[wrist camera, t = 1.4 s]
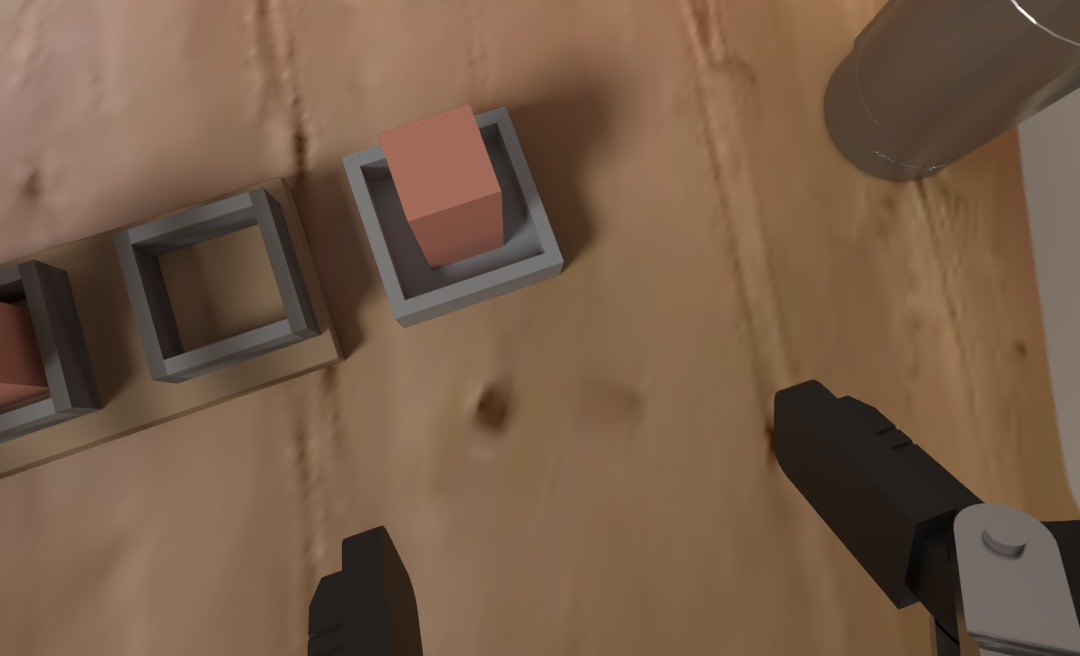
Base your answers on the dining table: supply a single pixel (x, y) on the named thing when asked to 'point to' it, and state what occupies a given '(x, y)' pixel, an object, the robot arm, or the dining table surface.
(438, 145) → the block
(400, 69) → the dining table surface
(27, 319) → the block
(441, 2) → the dining table surface
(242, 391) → the dark grey double holder
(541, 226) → the box
